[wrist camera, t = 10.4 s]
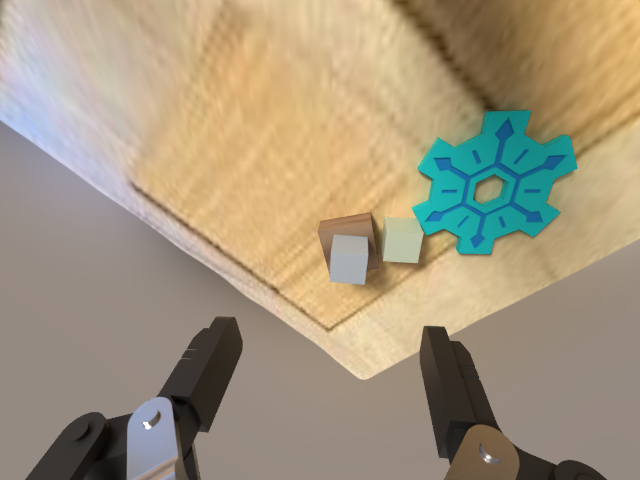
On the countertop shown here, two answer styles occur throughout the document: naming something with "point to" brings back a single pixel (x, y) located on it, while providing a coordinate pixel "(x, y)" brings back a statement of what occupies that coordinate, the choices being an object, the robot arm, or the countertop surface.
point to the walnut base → (349, 227)
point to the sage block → (401, 239)
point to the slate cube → (349, 259)
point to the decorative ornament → (483, 161)
